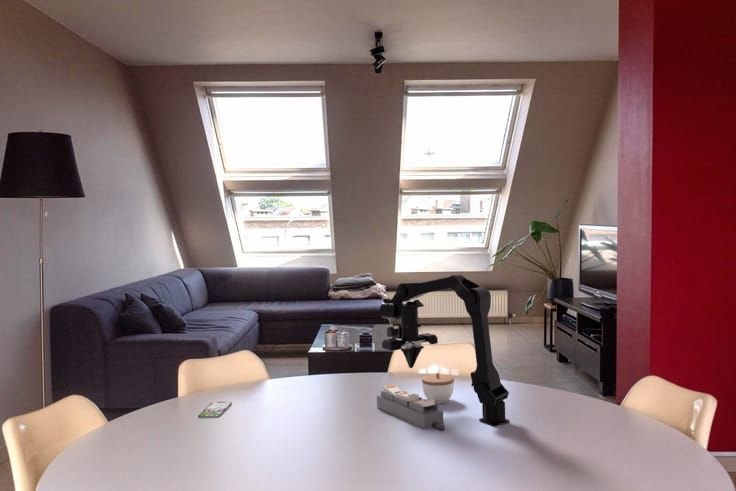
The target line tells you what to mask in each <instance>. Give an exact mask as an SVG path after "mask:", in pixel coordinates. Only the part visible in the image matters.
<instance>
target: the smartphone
mask: <svg viewBox="0 0 736 491" xmlns="http://www.w3.org/2000/svg"><path fill="white" fill-rule="evenodd" d="M231 406H233V402H232V401H213V402H210V403H209V404H208V405H207V406H206V407H205V408H204V410H202V411H201V413H200V414H199V415H197V418H198V419H217V418H221V417H222V416H223V415H224V413H226V412H227V411H228V409H229V408H230V407H231Z"/></svg>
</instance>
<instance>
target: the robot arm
mask: <svg viewBox="0 0 736 491" xmlns="http://www.w3.org/2000/svg"><path fill="white" fill-rule="evenodd" d="M447 289H448V290H449V289H452V290H453V291H454V293H456V296H457V297H458V298H460V299H461V301H463V303H464V307H465V311H466V312H467V314H468V315H469V317H470V319H471V328H472V335H473V344H474V345H473V346H474V352H475V359H476V360H475V361H476V368H475V370H474V371H471V372H470V378H471V379H470V380H471V385H470V386H471V387H473V391H474V392H475V394H476V396H477V398H478V401H479V403H480V404H482V405H481V406H482V407H481V410H482V411H481V412H482V417H481V418H479V419H478V421H479V422H482V423H486V424H487V425H490V426H492V427H495V426H499V425H503V424H507V423H509V422H510V419H507V418H506V401H504V400H507V399H508V397H509V394H510V393H509V392H510V391H508V389H507V388H506V387H505V386H504V385H503V383H501V382H502V381H501V379H500V375H499V371H498V370H497V368H496V367H495V365H494V362H493V354H492V346H491V336H490V335H491V334H490V329H489V328H490V327H489V319H488V316H489V312H490V309H491V303H492V302H491V300H492V296H491V292H490V291H489V289H487V287H484V286H481V285H479V284H478V283H476V282H474V281H472V280H470V279H468V278H466V276H464V275H462V274H458V273H457V274H451V275H450V276H446V277H442V278H437V279H432V280H427V281H421V280H420V281H419V280H418V281H408V282H402V283H399V284H398V285H397V288H396V291H395V293H394V295H393V297H392V298H390V297H386V298H382V302H381V304H380V307H379V315H380V317H381V318H382V319H388V320H400V322H399V323H398V325H397V327H396V328H395V327H394V326H389V327H386V335H387V337H388V338H385V339H382V340H383V341H382V342H381V348H382V349H384V350H388V351H392V352H393V351H399V350H400V351H401V352H402V354H403V355H404V357H405V361H406V362H407V366H408V368H409V369H413V368H414V365H415V364H416V361H417V359H418V357H419V356H420V353H421V352H422V349H424V348H425V346H423V345H422V343H423V344H424V343H428V344H429V345H436V344H439V342H438V341H439V340H438V339H439V338H438V337H437V335H436V334H434V333H429V332H425V333H419V331H420V330H419V328H421V327H422V324H421V323H419V308H422V307H424V306H425V305H424V304H423V303H422V302H421V301H420V300H419V299H418V298H421V297H423V296H424V295H427V294H429V293H432V292H439V291H443V290H447ZM414 299H415V300H414ZM411 300H413V301H411Z"/></svg>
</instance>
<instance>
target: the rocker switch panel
mask: <svg viewBox="0 0 736 491" xmlns="http://www.w3.org/2000/svg"><path fill="white" fill-rule="evenodd" d="M402 391H403V392H404V393H408V392H407V391H405V390H402ZM394 398H395V399H394ZM421 399H423V398H422V397H421V396H419V400H421ZM415 401H416V400H415ZM412 402H413V401H410V402H408V401H407V400H405V399H402V398H400V397H397V396H394V395H392V394H390V393H387V392H385V391H384V390H380V394H378V395H376V408H377V409H378V410H380V411H383V412H385V413H388V414H390V415H392V416H395V418H396V417H397V418H399V419H401V420H403V421H406V422H408V423H410V424H412V425H414V426H416V427H419V428H421V429H422V430H426V429H431V428H435V429H438V430H439V431H444V430H445V425H444V424H445V423H444V421H445V420H444V411H443V410H441V409H440V408H439V404H436V403H435V405H431V406H426V407H422V406H420V405H417V404H415V403H412Z"/></svg>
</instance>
